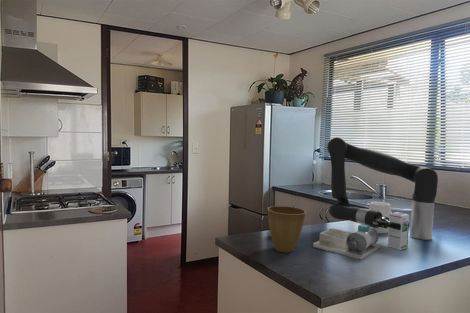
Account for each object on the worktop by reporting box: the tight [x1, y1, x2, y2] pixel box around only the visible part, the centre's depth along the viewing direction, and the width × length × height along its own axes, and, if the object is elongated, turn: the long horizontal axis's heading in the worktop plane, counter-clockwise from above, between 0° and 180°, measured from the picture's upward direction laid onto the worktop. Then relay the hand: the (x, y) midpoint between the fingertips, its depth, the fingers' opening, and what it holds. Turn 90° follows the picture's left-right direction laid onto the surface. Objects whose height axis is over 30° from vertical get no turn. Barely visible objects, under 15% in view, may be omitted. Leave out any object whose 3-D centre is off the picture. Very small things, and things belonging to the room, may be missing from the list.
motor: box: [312, 224, 381, 260], centre depth 143 cm, size 20×20×10 cm
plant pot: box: [267, 205, 307, 254], centre depth 137 cm, size 15×15×16 cm
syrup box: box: [387, 211, 410, 251], centre depth 146 cm, size 6×6×14 cm
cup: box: [368, 201, 393, 234], centre depth 172 cm, size 13×13×14 cm
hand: (404, 226), depth 144 cm, fingers closed on syrup box, 5 cm apart
